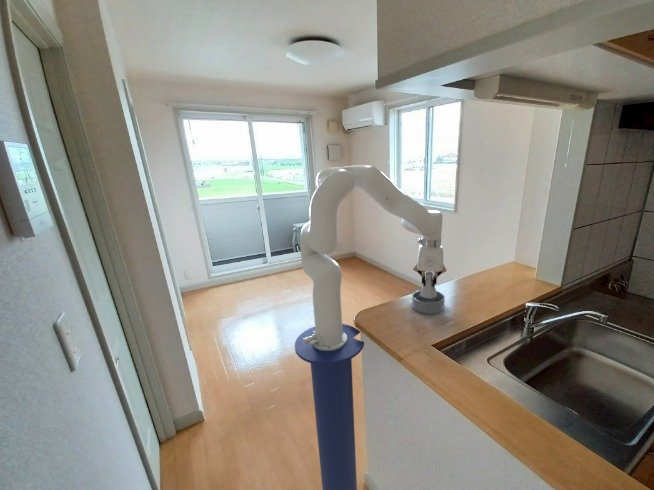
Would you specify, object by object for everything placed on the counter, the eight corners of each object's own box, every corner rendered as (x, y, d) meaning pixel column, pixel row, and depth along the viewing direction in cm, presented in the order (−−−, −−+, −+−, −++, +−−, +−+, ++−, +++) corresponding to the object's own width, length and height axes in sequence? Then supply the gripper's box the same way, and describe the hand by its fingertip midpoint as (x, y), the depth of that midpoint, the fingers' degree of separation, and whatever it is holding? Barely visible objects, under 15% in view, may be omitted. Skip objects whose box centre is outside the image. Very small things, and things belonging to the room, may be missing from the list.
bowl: (427, 317, 124) (428, 306, 122) (405, 305, 134) (405, 294, 132) (450, 308, 131) (451, 297, 129) (427, 297, 141) (428, 287, 140)
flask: (416, 296, 130) (417, 273, 126) (424, 290, 135) (425, 268, 132) (432, 300, 126) (434, 277, 123) (439, 294, 131) (441, 271, 128)
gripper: (409, 244, 121) (408, 287, 127) (453, 245, 118) (449, 290, 124) (410, 239, 128) (409, 281, 134) (451, 240, 125) (448, 283, 131)
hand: (428, 285), depth 129 cm, fingers closed on flask, 3 cm apart
